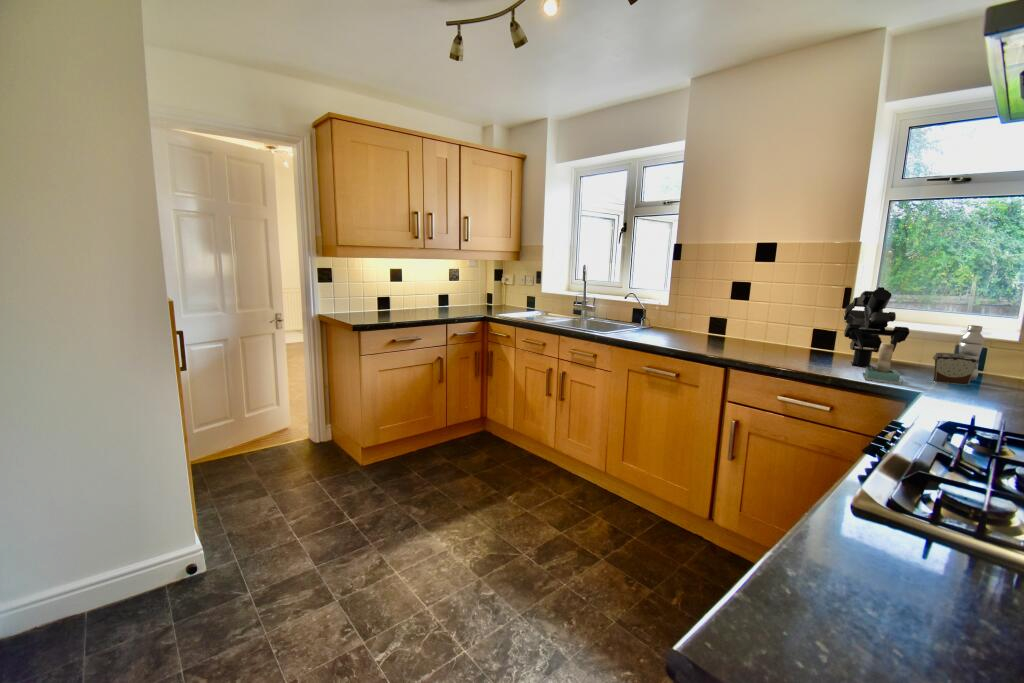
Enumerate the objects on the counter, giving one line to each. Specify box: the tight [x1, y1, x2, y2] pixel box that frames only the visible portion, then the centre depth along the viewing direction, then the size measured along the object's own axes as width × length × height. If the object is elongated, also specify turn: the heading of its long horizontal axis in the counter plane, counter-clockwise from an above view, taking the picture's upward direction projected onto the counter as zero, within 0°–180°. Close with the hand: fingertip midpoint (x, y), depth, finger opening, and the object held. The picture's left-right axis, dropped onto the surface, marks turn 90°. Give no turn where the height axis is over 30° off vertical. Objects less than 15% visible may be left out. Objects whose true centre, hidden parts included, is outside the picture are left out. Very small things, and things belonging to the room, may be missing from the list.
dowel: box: [875, 342, 894, 373], centre depth 163 cm, size 4×4×12 cm
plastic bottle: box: [958, 324, 986, 382], centre depth 166 cm, size 6×7×20 cm
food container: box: [932, 352, 980, 386], centre depth 164 cm, size 12×6×10 cm, turn 71°
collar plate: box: [862, 366, 902, 385], centre depth 163 cm, size 10×10×3 cm
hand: (877, 350), depth 170 cm, fingers open, 9 cm apart
